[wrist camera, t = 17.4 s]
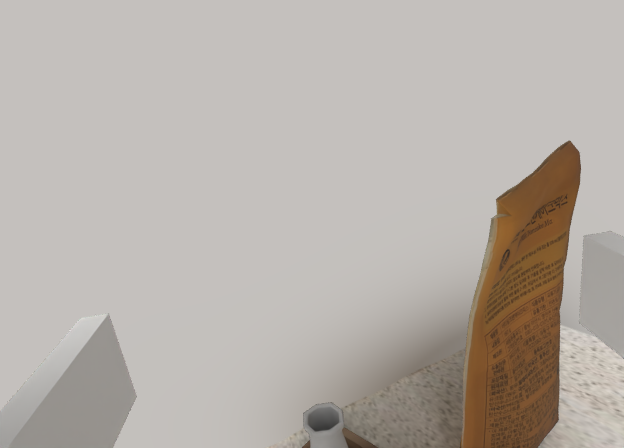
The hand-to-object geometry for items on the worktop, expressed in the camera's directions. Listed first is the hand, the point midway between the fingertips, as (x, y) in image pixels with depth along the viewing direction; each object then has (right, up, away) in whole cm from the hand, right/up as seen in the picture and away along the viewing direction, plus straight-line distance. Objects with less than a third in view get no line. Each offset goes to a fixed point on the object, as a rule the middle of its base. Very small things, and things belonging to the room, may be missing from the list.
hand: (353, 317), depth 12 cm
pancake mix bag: (+19, -19, +30) cm, 40 cm away
